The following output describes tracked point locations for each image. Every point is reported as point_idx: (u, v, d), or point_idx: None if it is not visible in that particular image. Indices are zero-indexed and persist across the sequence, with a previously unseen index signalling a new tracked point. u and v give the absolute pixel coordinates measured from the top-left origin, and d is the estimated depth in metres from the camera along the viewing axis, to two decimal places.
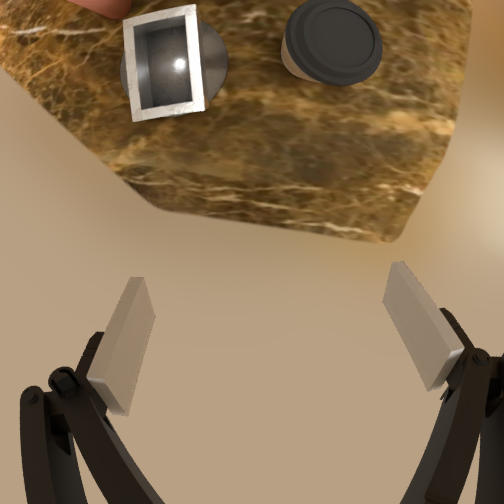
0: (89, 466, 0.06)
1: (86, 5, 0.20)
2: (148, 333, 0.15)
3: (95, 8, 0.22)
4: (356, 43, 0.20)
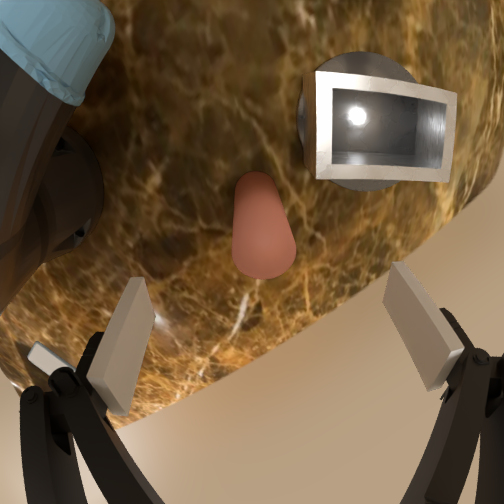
0: (89, 466, 0.06)
1: None
2: (148, 333, 0.15)
3: None
4: None
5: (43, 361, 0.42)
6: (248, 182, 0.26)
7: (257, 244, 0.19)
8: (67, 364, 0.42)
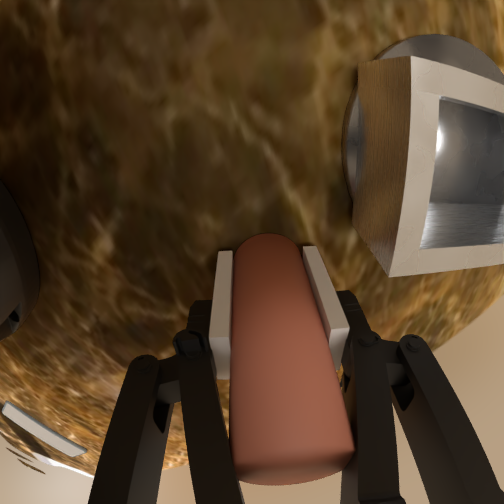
0: (186, 431, 0.08)
1: None
2: None
3: None
4: None
5: (18, 419, 0.31)
6: (258, 267, 0.14)
7: (281, 465, 0.07)
8: (43, 426, 0.31)
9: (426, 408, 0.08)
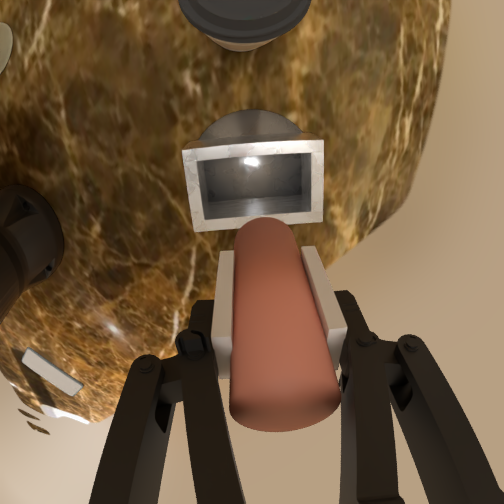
0: (188, 431, 0.08)
1: None
2: None
3: None
4: None
5: (34, 363, 0.50)
6: (255, 243, 0.16)
7: (274, 401, 0.09)
8: (53, 365, 0.50)
9: (424, 408, 0.08)
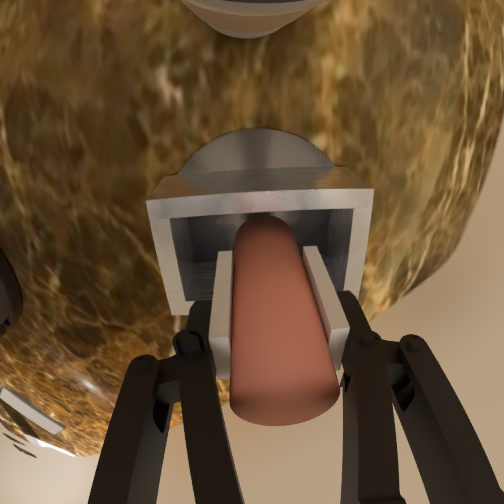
0: (186, 431, 0.08)
1: None
2: None
3: None
4: None
5: (11, 401, 0.40)
6: (255, 240, 0.17)
7: (274, 394, 0.10)
8: (31, 406, 0.40)
9: (426, 408, 0.08)
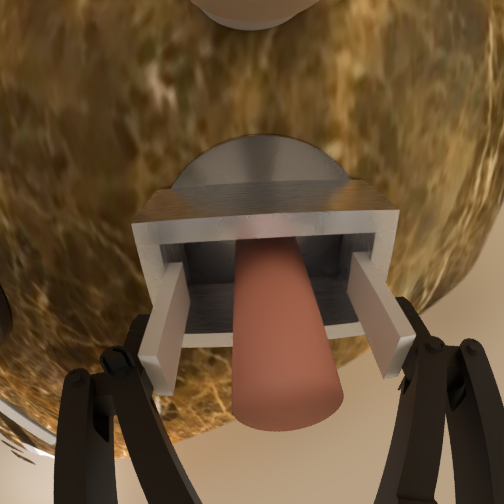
0: (129, 447, 0.07)
1: None
2: (186, 317, 0.16)
3: None
4: None
5: (7, 412, 0.37)
6: (257, 243, 0.16)
7: (277, 400, 0.09)
8: (27, 418, 0.37)
9: (474, 408, 0.07)
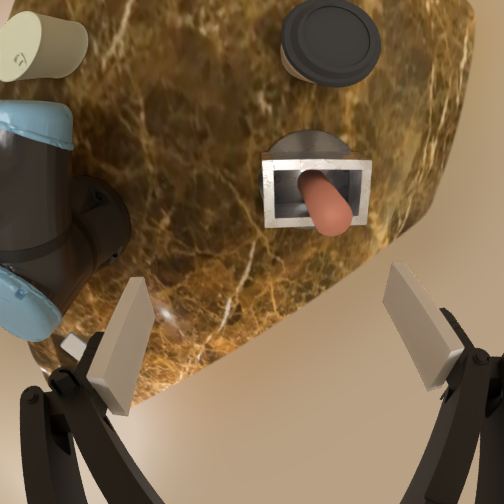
0: (89, 466, 0.06)
1: None
2: (148, 333, 0.15)
3: None
4: (341, 24, 0.19)
5: (74, 348, 0.58)
6: (311, 175, 0.36)
7: (329, 212, 0.29)
8: None
9: None
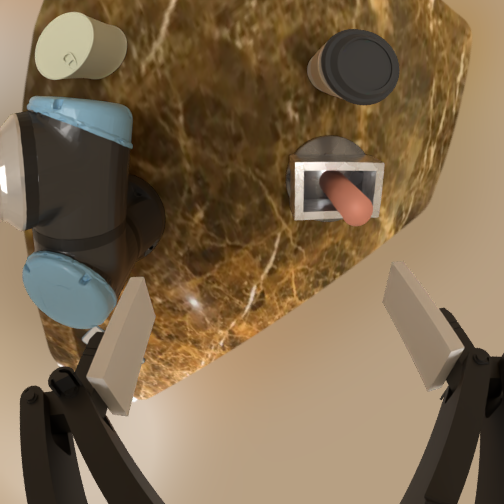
0: (89, 466, 0.06)
1: None
2: (148, 333, 0.15)
3: None
4: (370, 54, 0.24)
5: None
6: (333, 175, 0.41)
7: (355, 206, 0.34)
8: None
9: None
